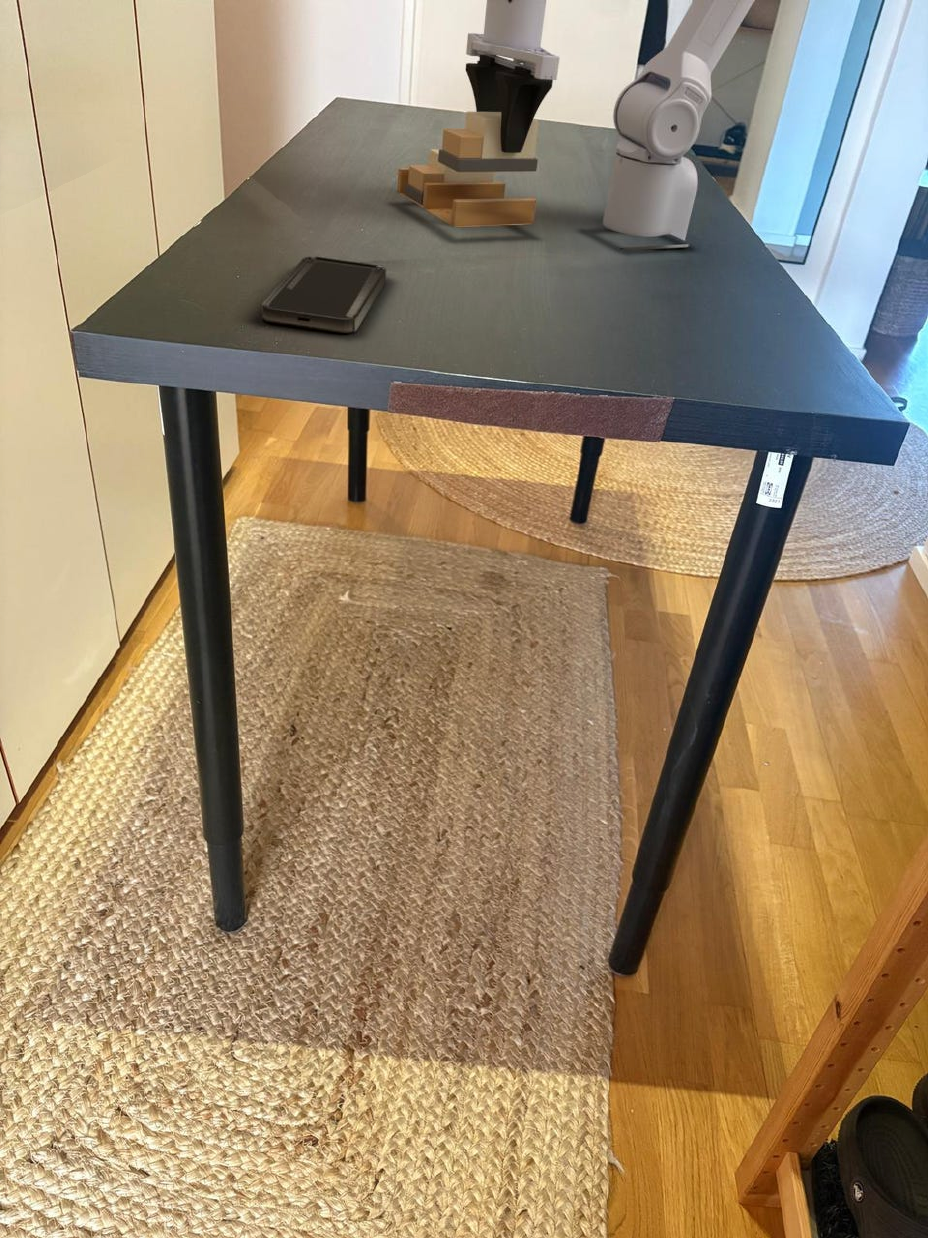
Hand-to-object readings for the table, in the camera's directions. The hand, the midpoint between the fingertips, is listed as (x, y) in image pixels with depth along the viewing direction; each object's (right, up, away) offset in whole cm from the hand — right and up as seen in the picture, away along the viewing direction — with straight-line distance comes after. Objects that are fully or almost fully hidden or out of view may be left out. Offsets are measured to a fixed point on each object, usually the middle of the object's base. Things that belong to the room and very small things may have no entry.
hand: (499, 146), depth 96 cm
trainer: (-1, -2, +1) cm, 2 cm away
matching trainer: (-5, -1, +10) cm, 12 cm away
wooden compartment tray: (-4, -4, +9) cm, 11 cm away
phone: (-16, -22, -16) cm, 31 cm away
